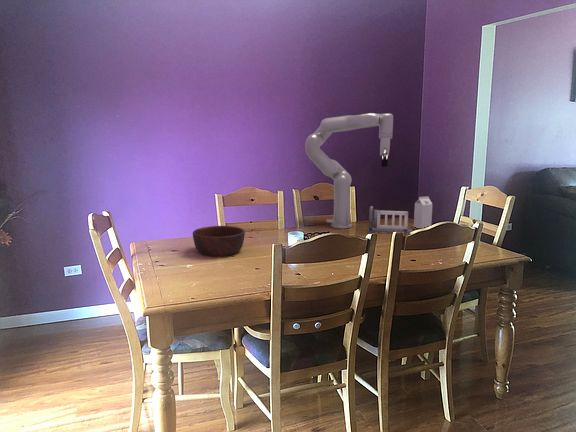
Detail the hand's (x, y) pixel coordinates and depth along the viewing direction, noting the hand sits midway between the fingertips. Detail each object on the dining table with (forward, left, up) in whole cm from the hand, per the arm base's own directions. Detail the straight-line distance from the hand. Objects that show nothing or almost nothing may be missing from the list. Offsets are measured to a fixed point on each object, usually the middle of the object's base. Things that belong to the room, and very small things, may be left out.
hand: (384, 165), depth 289 cm
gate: (+5, -8, -35) cm, 36 cm away
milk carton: (+23, +4, -37) cm, 44 cm away
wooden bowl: (-77, -68, -37) cm, 109 cm away
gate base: (+5, -8, -37) cm, 38 cm away
